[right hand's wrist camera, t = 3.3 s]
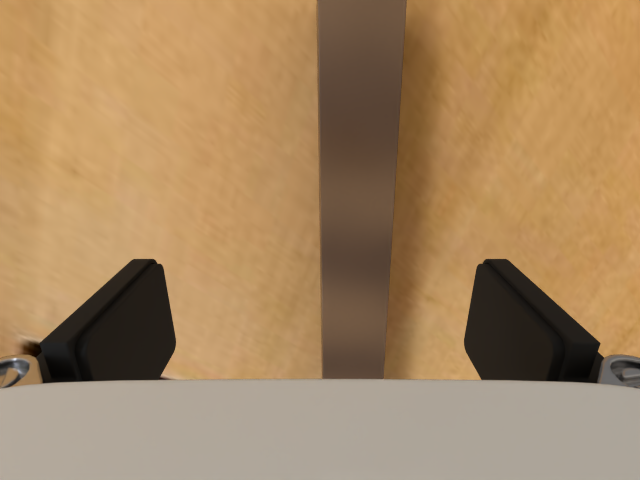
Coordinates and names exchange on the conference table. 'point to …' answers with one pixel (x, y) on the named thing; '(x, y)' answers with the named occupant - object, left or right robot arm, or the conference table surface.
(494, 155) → the conference table surface
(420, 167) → the conference table surface
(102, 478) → the right robot arm
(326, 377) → the bar
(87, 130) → the conference table surface
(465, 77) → the conference table surface
